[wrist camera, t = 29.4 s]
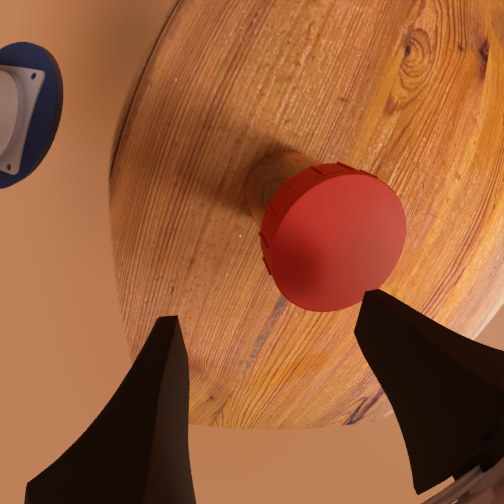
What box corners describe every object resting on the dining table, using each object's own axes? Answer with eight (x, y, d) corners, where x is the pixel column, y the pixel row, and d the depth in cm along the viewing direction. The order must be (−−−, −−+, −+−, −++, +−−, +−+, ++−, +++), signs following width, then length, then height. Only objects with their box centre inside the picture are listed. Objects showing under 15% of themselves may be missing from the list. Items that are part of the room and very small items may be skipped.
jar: (234, 216, 18) (256, 283, 11) (261, 139, 16) (305, 157, 9) (305, 235, 19) (356, 301, 13) (333, 166, 17) (406, 203, 11)
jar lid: (357, 137, 10) (383, 144, 8) (394, 245, 13) (416, 263, 11) (231, 212, 11) (237, 232, 9) (296, 308, 14) (309, 334, 12)
